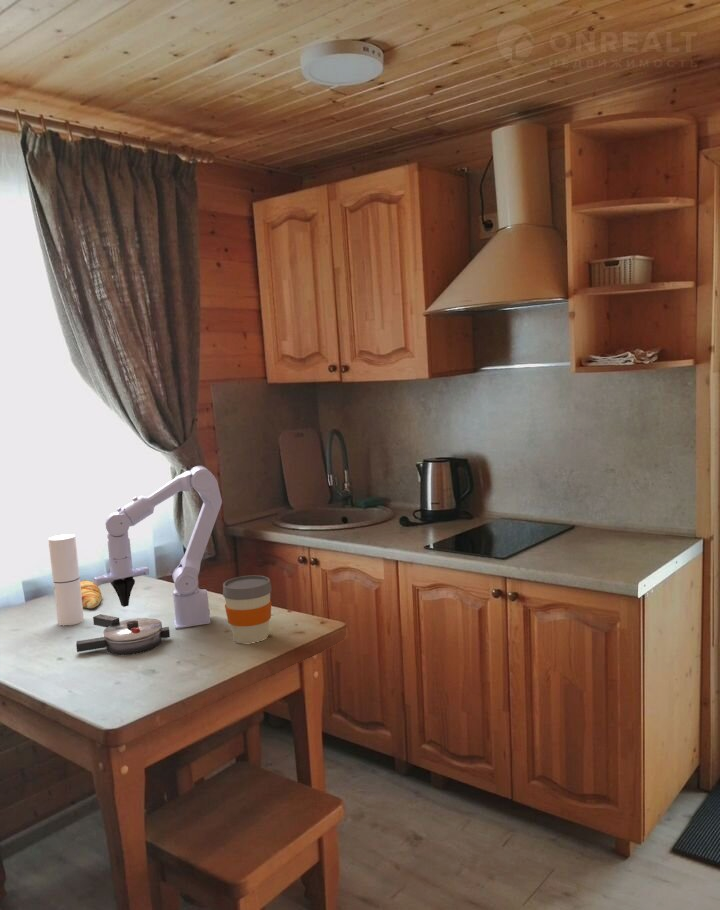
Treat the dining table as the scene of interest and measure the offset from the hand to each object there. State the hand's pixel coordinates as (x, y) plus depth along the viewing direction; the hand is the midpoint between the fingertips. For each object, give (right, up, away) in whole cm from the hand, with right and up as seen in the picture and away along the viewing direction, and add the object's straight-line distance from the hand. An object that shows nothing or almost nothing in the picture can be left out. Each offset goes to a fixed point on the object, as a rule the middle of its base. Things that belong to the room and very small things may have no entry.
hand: (124, 605), depth 206 cm
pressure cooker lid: (+2, -5, -8) cm, 9 cm away
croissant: (-22, -6, +31) cm, 39 cm away
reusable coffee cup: (+36, -7, -9) cm, 37 cm away
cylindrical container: (-20, -8, +13) cm, 25 cm away
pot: (+3, -9, -10) cm, 13 cm away
